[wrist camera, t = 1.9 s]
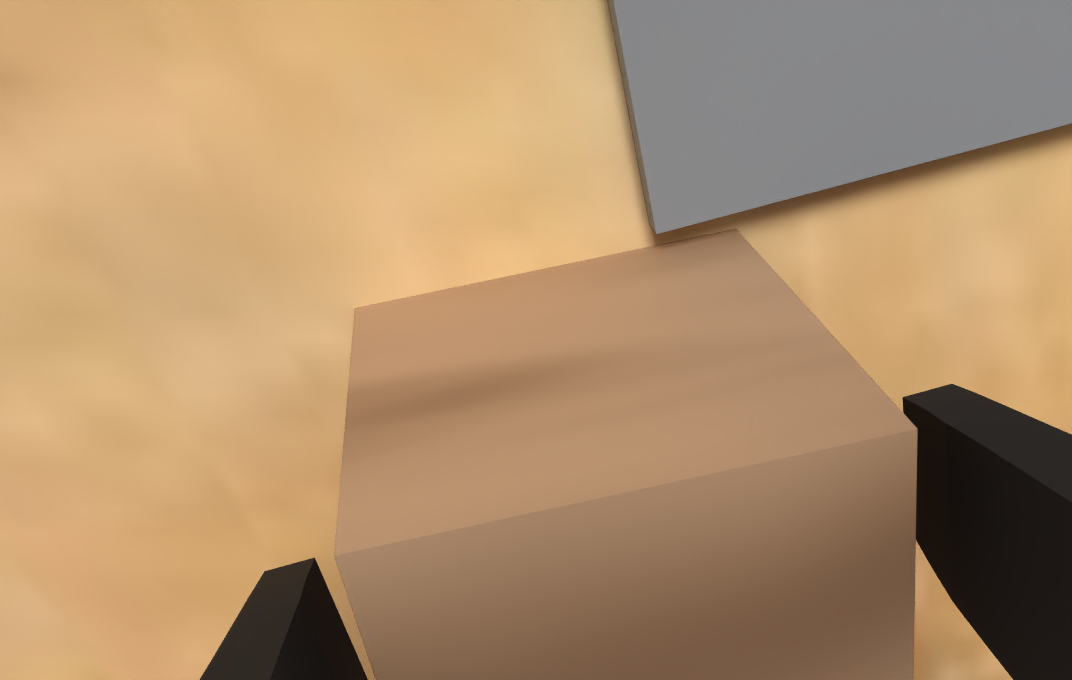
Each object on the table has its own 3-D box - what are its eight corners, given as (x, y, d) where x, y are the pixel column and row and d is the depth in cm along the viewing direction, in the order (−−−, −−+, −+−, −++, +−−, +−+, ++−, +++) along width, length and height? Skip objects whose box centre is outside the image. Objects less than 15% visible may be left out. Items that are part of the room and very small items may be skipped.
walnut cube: (757, 529, 17) (911, 813, 12) (437, 599, 16) (457, 919, 11) (734, 227, 14) (917, 429, 9) (354, 305, 14) (334, 555, 9)
